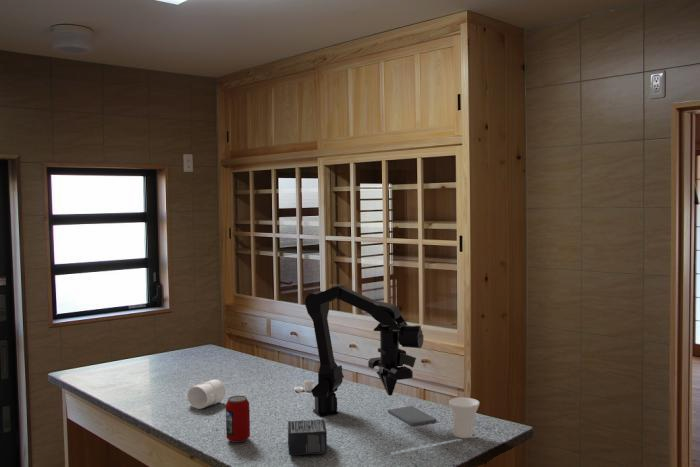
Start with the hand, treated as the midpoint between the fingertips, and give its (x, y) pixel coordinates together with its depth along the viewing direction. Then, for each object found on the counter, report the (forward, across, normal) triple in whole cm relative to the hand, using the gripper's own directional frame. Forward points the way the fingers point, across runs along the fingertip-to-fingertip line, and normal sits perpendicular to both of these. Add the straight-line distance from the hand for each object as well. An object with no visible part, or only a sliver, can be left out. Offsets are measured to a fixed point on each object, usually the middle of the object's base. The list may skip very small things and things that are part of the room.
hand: (390, 395), depth 201 cm
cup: (+8, -21, -13) cm, 26 cm away
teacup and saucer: (+9, +46, +11) cm, 48 cm away
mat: (+8, 0, -8) cm, 11 cm away
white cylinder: (+8, +44, +48) cm, 66 cm away
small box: (+5, -12, +27) cm, 29 cm away
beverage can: (+8, +6, +47) cm, 48 cm away
